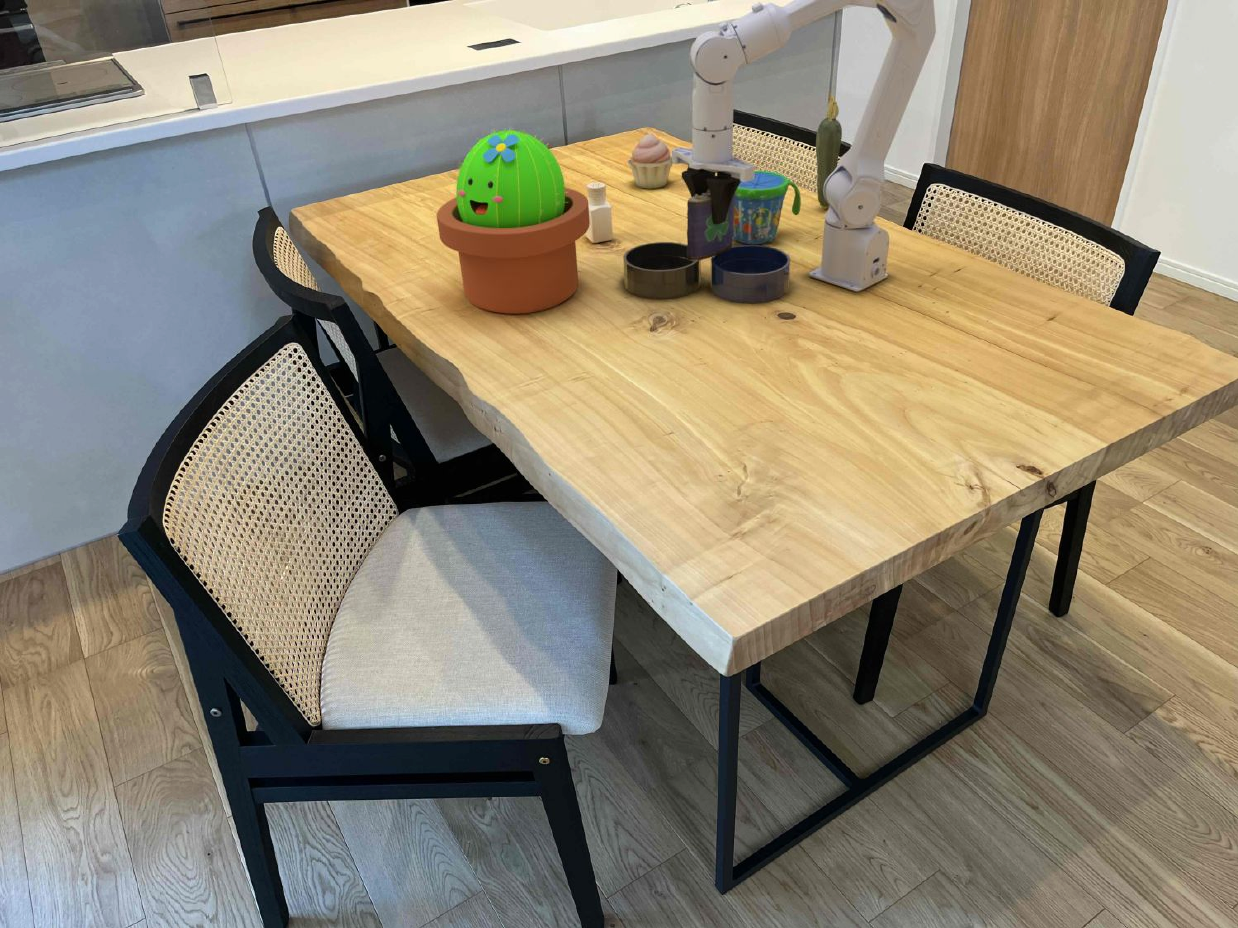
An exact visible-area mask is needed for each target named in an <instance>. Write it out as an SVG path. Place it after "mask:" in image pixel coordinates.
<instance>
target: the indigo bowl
mask: <svg viewBox="0 0 1238 928" xmlns="http://www.w3.org/2000/svg"><path fill="white" fill-rule="evenodd" d="M791 263H792V259H791V257H790V255H789V254H788V253H786V251H783V250H782V249H779V248H777V247H772V246H767V245H761V244H753V245H750V244H741V245H740V244H739V245H734V246H733V245H732V247H731V248H730V249H729V250H726V251H725V252H722V253H720V254H717V255H715V256H714V257H710V280H709V281H710V283H709V285H710V290H711V293H713V294H714V295H715V296H717V297H718V298H720V299H722V300H725V301H728V302H733V303H738V304H739V303H740V304H761V303H769V302H772V301H775V300H778V299H780V298H782V297H783V296H785V295H786V294H787V293H788V291H789V287H790V280H791V279H790V278H791Z"/></svg>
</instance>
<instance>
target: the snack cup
mask: <svg viewBox="0 0 1238 928" xmlns="http://www.w3.org/2000/svg"><path fill="white" fill-rule="evenodd" d="M789 186H791V187H792V188H793V190H794V198H793V203H792V207H791V213H792V214H793V215H795V216H798V215H800V211H801V206H802V205H801V204H802V199H801V192H800V189H799V187H798V186H797V184H796V183H795V182H793V181H792V180H790V179H789V178H788V177H787V176H785V175H784V174H782V173H778V172H774V171H766V170H755V176H754V180H751V181H748V182H741V183H740V184H739V186H738V188H737V190H736V191H735V205H734V223H733V241H737V242H739V243H742V244H745V245H761V244H765V243H772V242H773V241H774V239H775V238H776V237H777V235H778V229H779V225H780V221H781V217H782V209H783V207H784V200H785V197H786V194H787V192H788V191H789V190H788V189H789Z"/></svg>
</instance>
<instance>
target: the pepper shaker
mask: <svg viewBox="0 0 1238 928" xmlns="http://www.w3.org/2000/svg"><path fill="white" fill-rule="evenodd" d="M606 187H607V186H606V183H604V182H599V181H596V182H590V183H588V184H586V193H587V197H586V198H587V199H588V204H589V220H590V225H589V228H588V230H587V232H586V233H585V237H586V238H587V239H588V240H589V241H590V242H591V243H592V244H597V243H603V242H607V241H611V240H613V237H614V235H613V217H612V216H613V214H612V205H611V204H610V203H609V202H608V201H607V188H606Z"/></svg>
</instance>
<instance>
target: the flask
mask: <svg viewBox="0 0 1238 928" xmlns="http://www.w3.org/2000/svg"><path fill="white" fill-rule="evenodd" d="M702 194H703V195H701V196H698V195H697V194H695V196H693V197H689V198H688V200H687V203H686V205H687V211H686V212H687V213H686V215H687V216H686V217H687V218H686V219H687V221H686V222H687V223H686V224H687V229H686V241H687V242H686V243H687V244H686V245H687V259H688V260H690V261H699V260H701V261H704V260H706V259H711V258H712V257H714V256H715V255H717V254H720V253H722V252H725V251H726V250H729V249H730V248H731V247H733V243H734V239H733V223H734V205H735V194H734V196H733V198H732V201H731V204H730V207H729V210H728V214H727V218H726V221H725V222H723V223H720V224H718V225H716V224H713V220H712V201H711V195H710V191H709V189H708V190H707V192H706V193H702Z"/></svg>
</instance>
